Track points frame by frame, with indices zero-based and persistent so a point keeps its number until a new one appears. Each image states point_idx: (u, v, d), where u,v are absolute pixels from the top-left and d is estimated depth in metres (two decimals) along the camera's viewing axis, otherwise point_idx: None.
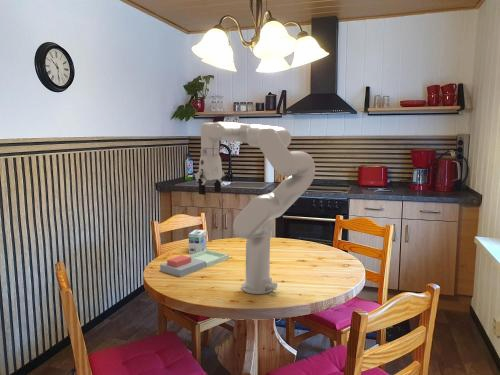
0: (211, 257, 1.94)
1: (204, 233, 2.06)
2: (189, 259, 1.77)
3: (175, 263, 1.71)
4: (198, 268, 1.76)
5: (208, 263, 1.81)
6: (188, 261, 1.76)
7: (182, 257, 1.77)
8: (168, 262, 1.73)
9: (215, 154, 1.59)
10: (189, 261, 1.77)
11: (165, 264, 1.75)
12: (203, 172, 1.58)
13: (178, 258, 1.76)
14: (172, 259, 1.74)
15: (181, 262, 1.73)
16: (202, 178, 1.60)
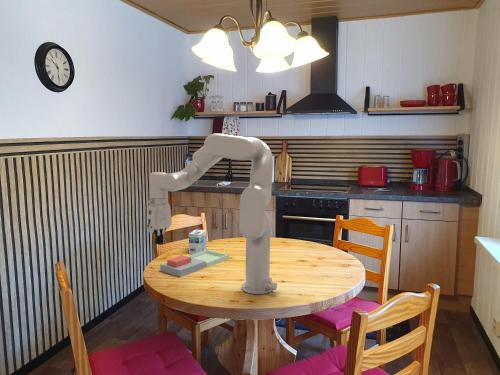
0: (211, 257, 1.94)
1: (204, 233, 2.06)
2: (189, 259, 1.77)
3: (175, 263, 1.71)
4: (198, 268, 1.76)
5: (208, 263, 1.81)
6: (188, 261, 1.76)
7: (182, 257, 1.77)
8: (168, 262, 1.73)
9: (163, 204, 1.61)
10: (189, 261, 1.77)
11: (165, 264, 1.75)
12: (151, 222, 1.60)
13: (178, 258, 1.76)
14: (172, 259, 1.74)
15: (181, 262, 1.73)
16: (155, 229, 1.63)
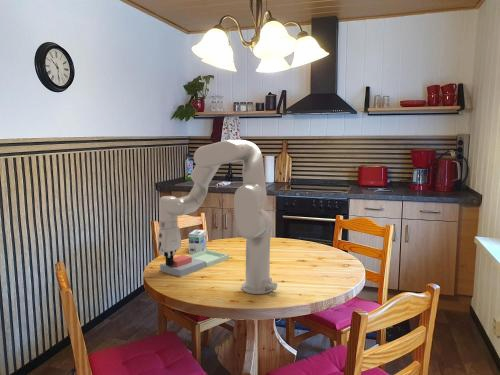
0: (211, 257, 1.94)
1: (204, 233, 2.06)
2: (190, 259, 1.77)
3: (176, 263, 1.71)
4: (198, 268, 1.76)
5: (208, 263, 1.81)
6: (189, 261, 1.76)
7: (183, 257, 1.77)
8: None
9: (173, 227, 1.66)
10: (190, 261, 1.77)
11: (165, 264, 1.75)
12: (161, 245, 1.65)
13: (179, 258, 1.76)
14: (173, 259, 1.74)
15: (182, 262, 1.73)
16: (165, 251, 1.68)
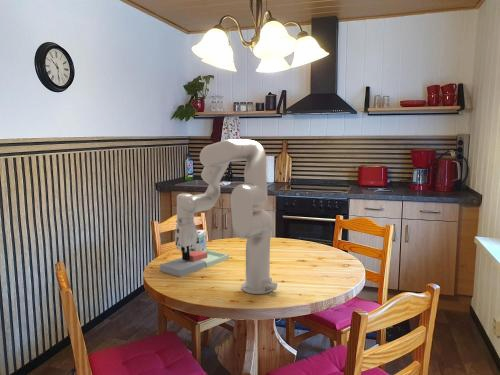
0: (211, 257, 1.94)
1: (204, 233, 2.06)
2: (205, 254, 1.85)
3: (192, 257, 1.79)
4: (198, 268, 1.76)
5: (208, 263, 1.81)
6: (204, 256, 1.84)
7: (199, 252, 1.85)
8: None
9: (190, 223, 1.74)
10: (205, 256, 1.85)
11: (165, 264, 1.75)
12: (179, 240, 1.73)
13: (195, 253, 1.84)
14: None
15: (198, 257, 1.81)
16: (182, 246, 1.77)
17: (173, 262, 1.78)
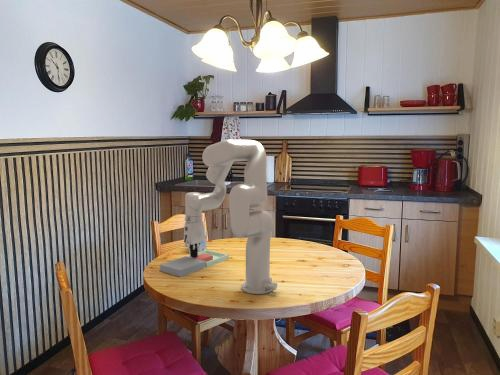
0: None
1: None
2: (211, 257, 1.89)
3: None
4: (198, 268, 1.76)
5: (208, 263, 1.81)
6: (210, 259, 1.88)
7: (204, 255, 1.89)
8: None
9: (198, 221, 1.78)
10: (211, 259, 1.89)
11: (165, 264, 1.75)
12: (187, 238, 1.77)
13: (201, 256, 1.88)
14: None
15: (204, 260, 1.85)
16: (190, 244, 1.81)
17: (173, 262, 1.78)
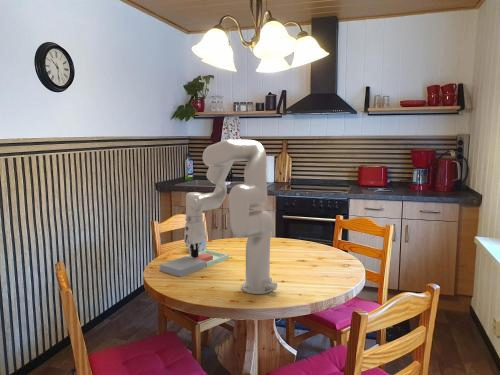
0: None
1: None
2: (211, 257, 1.89)
3: None
4: (198, 268, 1.76)
5: (208, 263, 1.81)
6: (210, 259, 1.88)
7: (204, 255, 1.89)
8: None
9: (198, 221, 1.79)
10: (211, 259, 1.89)
11: (165, 264, 1.75)
12: (188, 237, 1.78)
13: (201, 256, 1.88)
14: None
15: (204, 260, 1.85)
16: (191, 244, 1.81)
17: (173, 262, 1.78)
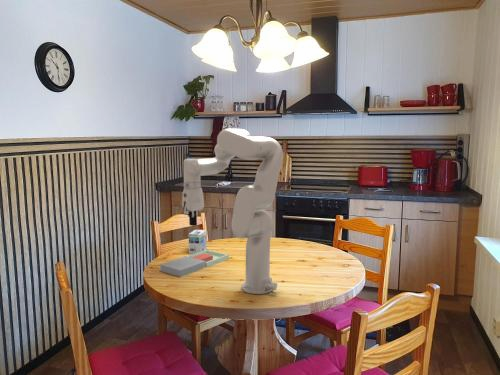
0: None
1: (204, 233, 2.06)
2: (211, 257, 1.89)
3: None
4: (198, 268, 1.76)
5: (208, 263, 1.81)
6: (210, 259, 1.88)
7: (204, 255, 1.89)
8: None
9: (197, 187, 1.74)
10: (211, 259, 1.89)
11: (165, 264, 1.75)
12: (186, 204, 1.73)
13: (201, 256, 1.88)
14: (195, 257, 1.86)
15: (204, 260, 1.85)
16: (189, 211, 1.77)
17: (173, 262, 1.78)
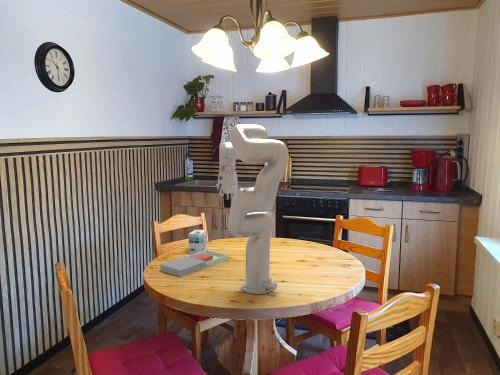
0: None
1: (204, 233, 2.06)
2: (211, 257, 1.89)
3: None
4: (198, 268, 1.76)
5: (208, 263, 1.81)
6: (210, 259, 1.88)
7: (204, 255, 1.89)
8: None
9: (232, 170, 1.79)
10: (211, 259, 1.89)
11: (165, 264, 1.75)
12: (222, 186, 1.77)
13: (201, 256, 1.88)
14: (195, 257, 1.86)
15: (204, 260, 1.85)
16: (224, 194, 1.81)
17: (173, 262, 1.78)
